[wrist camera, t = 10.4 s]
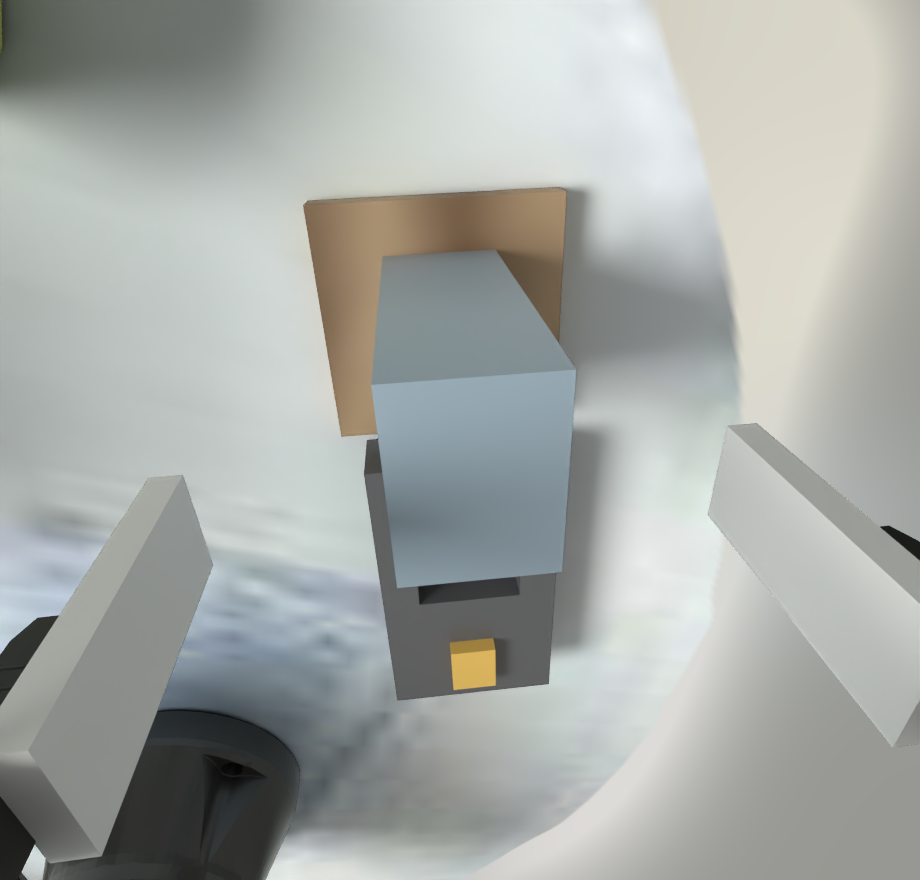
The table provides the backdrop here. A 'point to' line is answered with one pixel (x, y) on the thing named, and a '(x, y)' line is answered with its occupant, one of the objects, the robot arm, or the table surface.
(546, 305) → the walnut board
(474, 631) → the dark grey holder
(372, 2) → the table surface
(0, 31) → the plant pot
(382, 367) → the light blue tall block
